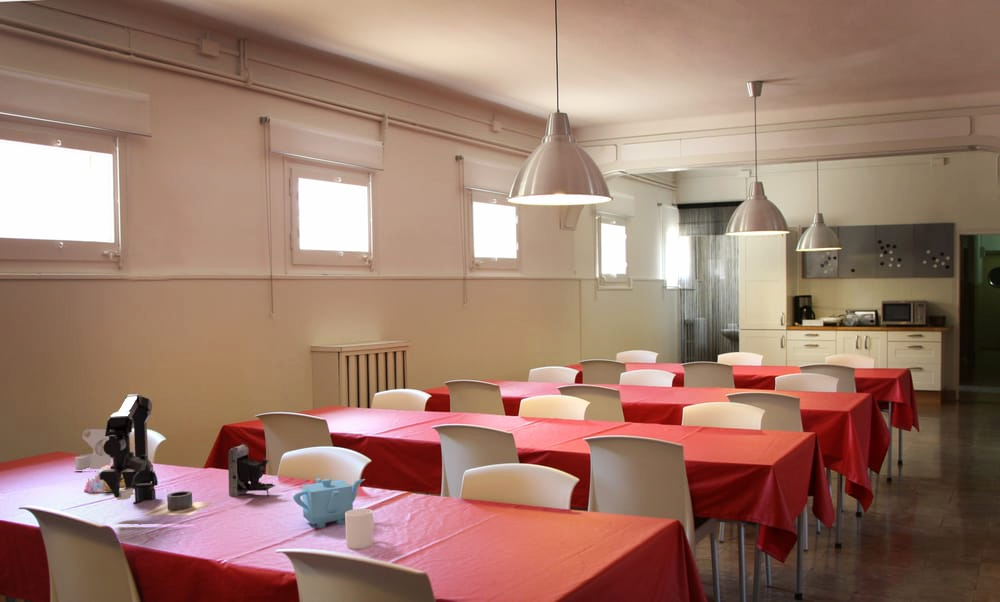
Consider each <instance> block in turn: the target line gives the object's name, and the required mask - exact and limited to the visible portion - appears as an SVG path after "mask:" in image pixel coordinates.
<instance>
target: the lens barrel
mask: <svg viewBox="0 0 1000 602" xmlns="http://www.w3.org/2000/svg"><path fill="white" fill-rule="evenodd" d="M166 501H167V502H166V503H167V504H168V510H170V511H179V510H185V509H189V508H191V507H192V502H193V492H192V491H189V490H188V491H187V490H184V491H183V490H182V491H175V492H171V493H168V494H167V495H166Z"/></svg>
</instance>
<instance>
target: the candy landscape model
mask: <svg viewBox="0 0 1000 602" xmlns="http://www.w3.org/2000/svg"><path fill="white" fill-rule="evenodd" d="M111 466H113V463H111V464H110V466H105V467H102V468H100V471H98V472H96V473H97V474H95V475H94V477H91V480H90V478H87V482H86V484H85V486H84V489H83V492H85V491H86V493H89V494H91V493H93V492H94V494H96V493H110V492H112V491H111V489H110V487H109V486H108V485H107V483H106V482H105V481H103V480H100V477H99V474H100V473H101V472H102V471H104V470H107V469H111ZM121 478H123V476H121ZM85 487H86V488H85ZM120 488H126V485H125V482H124V479H122V480H121V481H120ZM87 491H88V492H87Z"/></svg>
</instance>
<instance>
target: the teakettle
mask: <svg viewBox="0 0 1000 602" xmlns="http://www.w3.org/2000/svg"><path fill="white" fill-rule="evenodd" d="M365 480H366V479H365V478H363V479H358V480H355V481H354V483H353V485H350V484H349V483H347V482H346V481H344V480H343V479H337V480H332V479H331V478H324V479H321V477H316V478H315V482H316V483H308V484H302V485H301V488H302V491H299V492H297V493H295V494H294V495H293V500H294V502H295V503H296V504H297V505H299V507H301V508H302V514H303V515H302V516H303V518H305V520H307V521H308V522H309V523H310V524H311V525H316V528H317V529H322V528H325V527H326V523H330V522H336V524H337V525H346V523H345V513H346V512H347V511H350V510H354V506H353V505H354V502H355V500H356V498H357V494H358V489H359V486H360V485H361V483H363V482H364V481H365ZM301 497H302V498H301Z"/></svg>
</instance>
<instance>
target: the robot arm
mask: <svg viewBox="0 0 1000 602" xmlns="http://www.w3.org/2000/svg"><path fill="white" fill-rule="evenodd" d="M152 410H153V403H152V401H151V400H150V399H149V398H148V397H145V396H142V395H141V394H137V393H135V394H133V393H132V394H127V395H125V400H124V402H123V404H122V405H121V407H120V409H119V410H118V411H116V412H112V414H111V415H110V416H109V418H108V419H107V423H106V428H105V429H106V433H105V436H109V440H108V441H104V444H103V449H104V452H105V453H106V454H107V455H110V457H112V464H113V466H111V465H110V466H111V469H107V470H104V471H102V472H101V473H100V474H99V477H100V480H103V481H105V482H106V483H107V485H108V486H109V487H110V489H111V492H112V494H114V496H115V497H119V489H120V481H121V480H122V479H124V482H125V485H126V487H132V488H133V489H134V501H133V502H132V504H133V505H135V504H140V503H142V502H145V501H152V500H153V501H154V500H155V499H156V498H157V496H156V488H155V486H158V483H159V482H158V477H157V474H156V471H155V470H154V465H153V464H152V463H151V460H150V459H149V447H148V420H149V418H150V416H151V415H152ZM110 430H111V431H110ZM131 433H133V436H134V437H133V438H134V439H133V440H134V451H131ZM121 476H123V478H121ZM114 496H113V497H114ZM115 497H114V498H115Z"/></svg>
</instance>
